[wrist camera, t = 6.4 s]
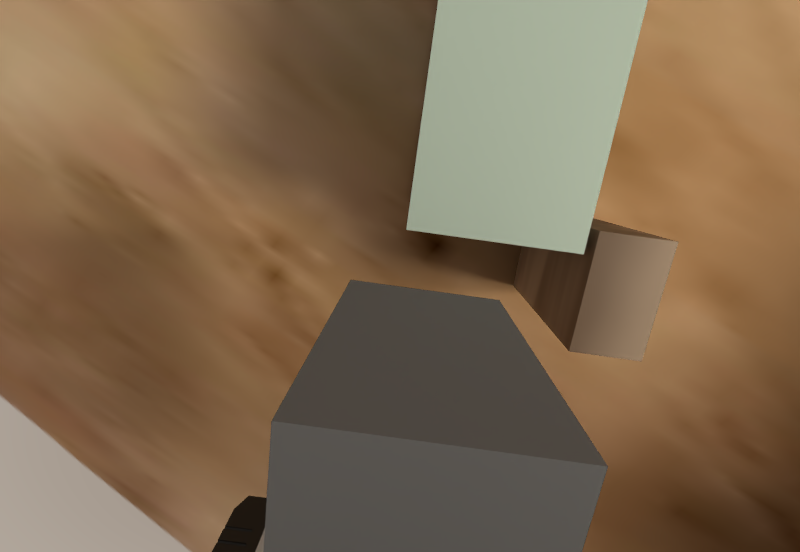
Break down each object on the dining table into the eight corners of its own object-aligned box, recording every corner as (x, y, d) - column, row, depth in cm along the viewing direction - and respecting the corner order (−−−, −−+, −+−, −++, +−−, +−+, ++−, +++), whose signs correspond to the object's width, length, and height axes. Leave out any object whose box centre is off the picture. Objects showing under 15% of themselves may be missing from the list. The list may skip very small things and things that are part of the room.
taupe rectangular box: (699, -284, 20) (976, -727, 10) (559, 291, 27) (641, 361, 17) (635, -292, 20) (851, -743, 10) (513, 285, 27) (569, 351, 17)
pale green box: (582, -62, 22) (706, -232, 12) (522, 223, 25) (583, 254, 16) (434, -82, 22) (448, -268, 12) (396, 206, 25) (385, 226, 16)
